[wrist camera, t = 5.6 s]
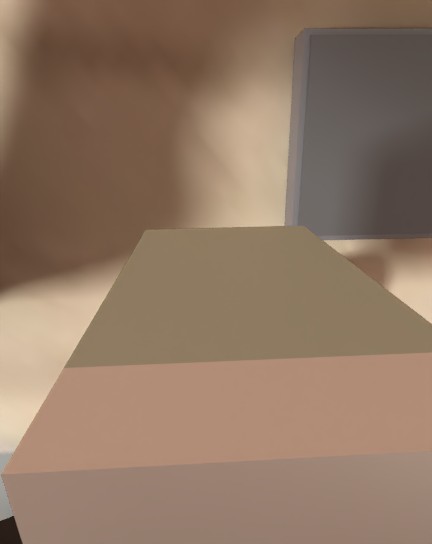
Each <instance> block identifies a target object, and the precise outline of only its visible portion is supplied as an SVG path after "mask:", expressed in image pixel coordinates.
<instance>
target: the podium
mask: <svg viewBox="0 0 432 544" xmlns="http://www.w3.org/2000/svg"><path fill="white" fill-rule="evenodd" d="M285 226H304V227H306V228H307V229H308V230H310V231H311V232H312V233H314V234H315V235H316V236H318V237H319V238H320V239H321V240H354V239H396V238H432V28H304V29H303V30H302V32H301V33H300V34H299V35H298V36H297V37H296V38H295V50H294V68H293V86H292V104H291V122H290V140H289V157H288V175H287V193H286V211H285Z"/></svg>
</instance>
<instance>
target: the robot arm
mask: <svg viewBox="0 0 432 544" xmlns="http://www.w3.org/2000/svg"><path fill="white" fill-rule="evenodd" d="M0 544H23V543H22V540H21V537H20V534H19V531H18V527H17V524H16V521H15V518H14V516H12V517H10V518H7V519H5V520H2V521H0Z"/></svg>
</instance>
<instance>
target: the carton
mask: <svg viewBox="0 0 432 544" xmlns="http://www.w3.org/2000/svg"><path fill="white" fill-rule="evenodd" d="M1 476H2V479H3V483H4V486H5V489H6V492H7V495H8V498H9V502H10V505H11V508H12V511H13V515H14V518H15V521H16V524H17V527H18V531H19V534H20V537H21V540H22V543H23V544H432V324H431V323H430V322H428V321H427V320H426V319H424V318H423V317H422V316H421V315H419V314H418V313H417V312H415V311H414V310H413V309H411V308H410V307H409V306H407V305H406V304H405V303H404V302H402V301H401V300H400V299H398V298H397V297H396V296H394V295H393V294H392V293H391V292H389V291H388V290H387V289H385V288H384V287H383V286H381V285H380V284H379V283H377V282H376V281H375V280H374V279H372V278H371V277H370V276H368V275H367V274H366V273H364V272H363V271H362V270H361V269H359V268H358V267H357V266H355V265H354V264H353V263H351V262H350V261H349V260H348V259H346V258H345V257H344V256H342V255H341V254H340V253H338V252H337V251H336V250H334V249H333V248H332V247H331V246H329V245H328V244H327V243H325V242H324V241H323V240H321V239H320V238H319V237H318V236H316V235H315V234H314V233H312V232H311V231H310V230H308V229H307V228H306V227H304V226H271V227H231V228H191V229H150V230H145V232H144V234H143V235H142V237H141V239H140V240H139V242H138V244H137V245H136V247H135V249H134V250H133V252H132V254H131V256H130V257H129V259H128V261H127V262H126V264H125V266H124V267H123V269H122V271H121V272H120V274H119V276H118V278H117V279H116V281H115V283H114V284H113V286H112V288H111V289H110V291H109V293H108V294H107V296H106V298H105V299H104V301H103V303H102V305H101V306H100V308H99V310H98V311H97V313H96V315H95V316H94V318H93V320H92V321H91V323H90V325H89V327H88V328H87V330H86V332H85V333H84V335H83V337H82V338H81V340H80V342H79V343H78V345H77V347H76V349H75V350H74V352H73V354H72V355H71V357H70V359H69V360H68V362H67V364H66V365H65V367H64V369H63V371H62V372H61V374H60V376H59V377H58V379H57V381H56V382H55V384H54V386H53V387H52V389H51V391H50V392H49V394H48V396H47V398H46V399H45V401H44V403H43V404H42V406H41V408H40V409H39V411H38V413H37V414H36V416H35V418H34V420H33V421H32V423H31V425H30V426H29V428H28V430H27V431H26V433H25V435H24V436H23V438H22V440H21V442H20V443H19V445H18V447H17V448H16V450H15V452H14V453H13V455H12V457H11V458H10V460H9V462H8V464H7V465H6V467H5V469H4V470H3V472H2V474H1Z"/></svg>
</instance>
